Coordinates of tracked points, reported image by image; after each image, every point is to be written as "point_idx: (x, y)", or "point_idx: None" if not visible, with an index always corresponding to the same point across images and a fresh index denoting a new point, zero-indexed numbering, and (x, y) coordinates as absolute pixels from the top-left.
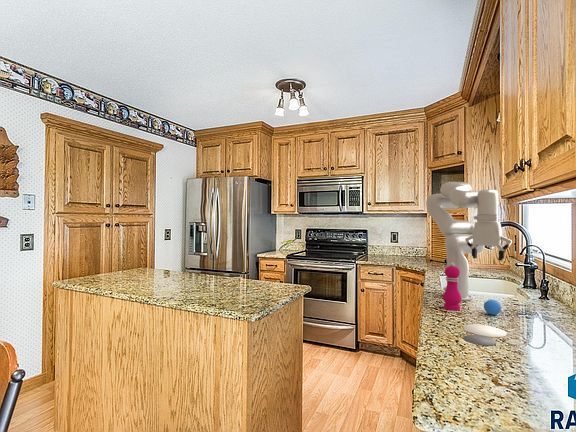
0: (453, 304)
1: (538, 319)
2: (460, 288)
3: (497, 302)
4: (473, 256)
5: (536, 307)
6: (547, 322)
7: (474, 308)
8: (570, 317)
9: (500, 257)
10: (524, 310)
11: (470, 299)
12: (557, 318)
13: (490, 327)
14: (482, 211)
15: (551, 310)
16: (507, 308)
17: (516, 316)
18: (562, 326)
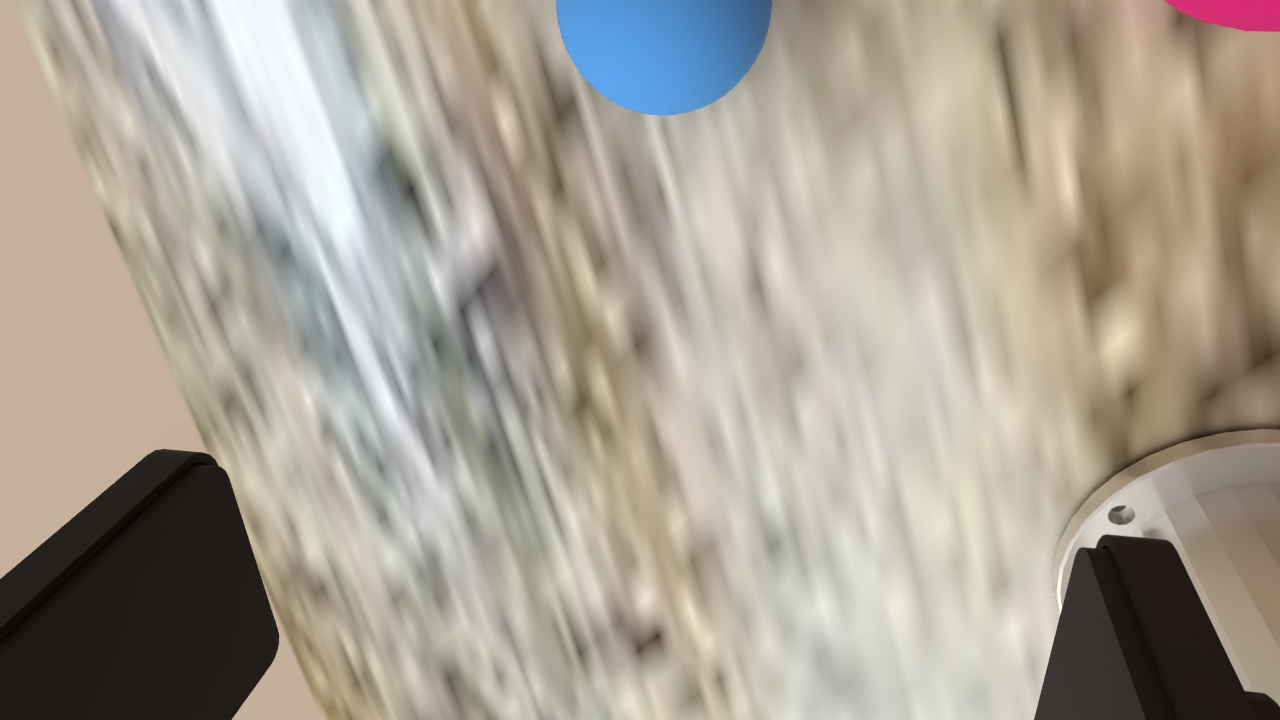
0: None
1: (313, 188)
2: (1240, 582)
3: (577, 12)
4: (1165, 585)
5: (492, 630)
6: (225, 130)
7: (937, 158)
8: None
9: (85, 508)
10: (517, 459)
11: (1063, 538)
12: (249, 357)
13: None
14: None
15: (384, 600)
16: (650, 432)
17: (479, 142)
18: (102, 79)
